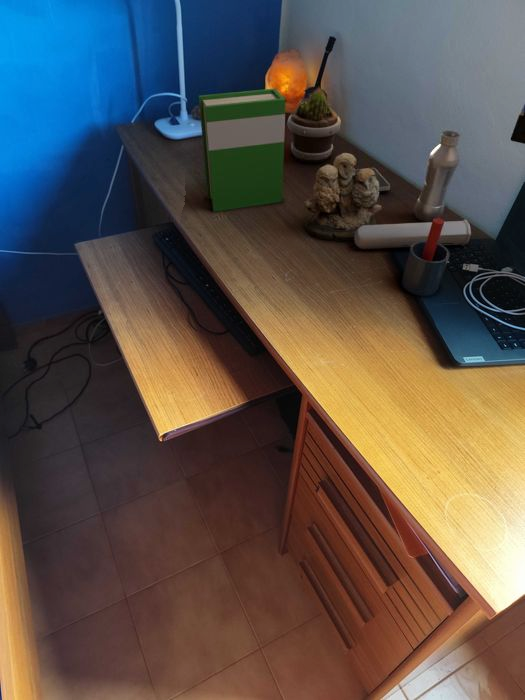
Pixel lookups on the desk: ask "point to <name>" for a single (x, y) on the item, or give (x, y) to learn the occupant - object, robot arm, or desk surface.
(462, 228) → the tube
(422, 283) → the tumbler
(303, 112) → the flowerpot
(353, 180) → the owl figurine
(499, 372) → the desk surface
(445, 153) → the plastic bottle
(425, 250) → the red cylindrical rod
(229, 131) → the hardback book
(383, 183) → the external hard drive
